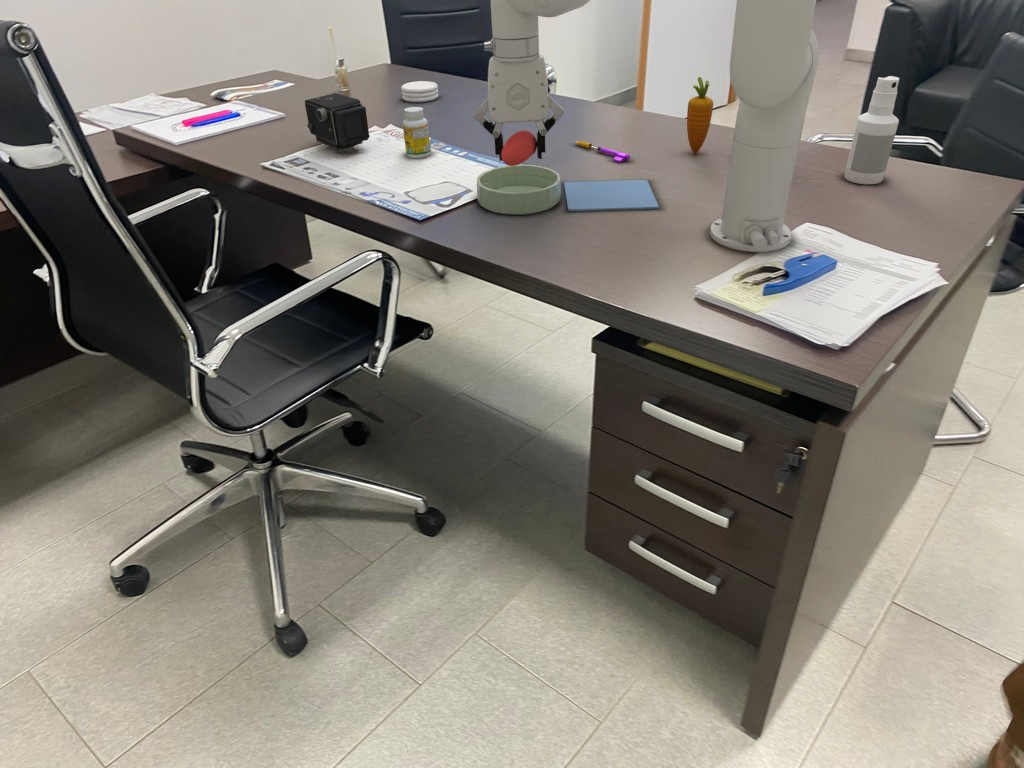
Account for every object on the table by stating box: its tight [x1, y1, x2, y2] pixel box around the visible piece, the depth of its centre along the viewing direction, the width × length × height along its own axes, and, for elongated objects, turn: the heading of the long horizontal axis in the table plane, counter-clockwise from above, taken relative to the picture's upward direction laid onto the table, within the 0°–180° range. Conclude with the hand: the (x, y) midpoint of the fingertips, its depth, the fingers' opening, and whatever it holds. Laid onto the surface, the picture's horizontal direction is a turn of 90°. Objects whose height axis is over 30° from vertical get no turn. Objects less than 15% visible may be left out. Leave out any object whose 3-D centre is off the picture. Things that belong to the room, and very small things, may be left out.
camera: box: [304, 92, 370, 154], centre depth 159 cm, size 11×11×15 cm
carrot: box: [686, 76, 714, 155], centre depth 147 cm, size 5×5×15 cm
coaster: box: [400, 80, 439, 103], centre depth 196 cm, size 10×10×4 cm
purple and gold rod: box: [574, 140, 631, 164], centre depth 153 cm, size 3×1×16 cm
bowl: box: [476, 164, 562, 216], centre depth 132 cm, size 15×15×4 cm
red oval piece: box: [501, 129, 537, 166], centre depth 127 cm, size 5×9×6 cm
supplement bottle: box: [402, 106, 432, 159], centre depth 154 cm, size 5×5×10 cm
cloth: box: [563, 179, 660, 212], centre depth 133 cm, size 14×16×1 cm
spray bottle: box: [843, 75, 900, 186], centre depth 131 cm, size 7×7×18 cm
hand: (520, 156), depth 128 cm, fingers closed on red oval piece, 6 cm apart
